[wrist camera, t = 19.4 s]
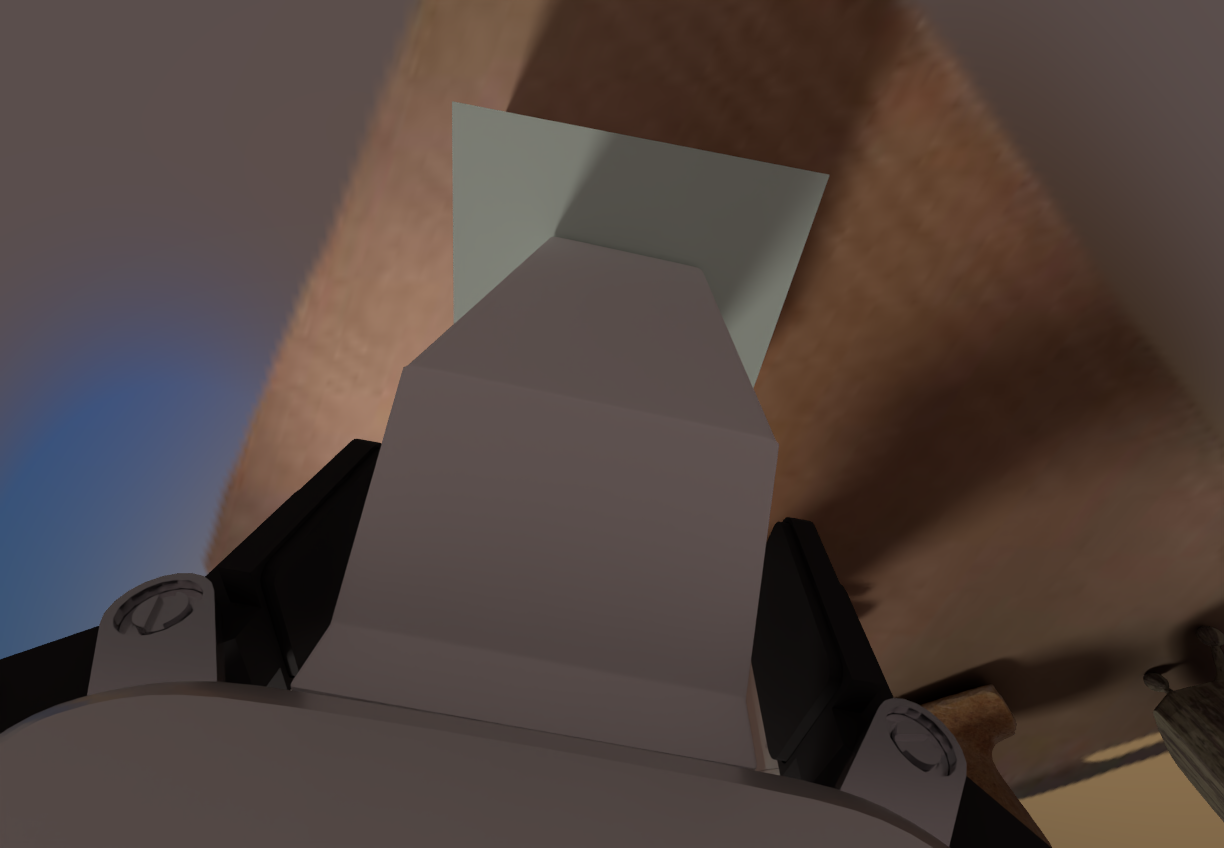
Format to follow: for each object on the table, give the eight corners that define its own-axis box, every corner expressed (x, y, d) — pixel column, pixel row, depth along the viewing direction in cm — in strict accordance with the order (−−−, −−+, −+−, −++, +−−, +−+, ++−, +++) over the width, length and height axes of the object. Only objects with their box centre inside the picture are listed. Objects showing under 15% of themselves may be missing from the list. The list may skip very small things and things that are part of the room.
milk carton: (551, 234, 21) (237, 509, 5) (702, 267, 22) (864, 628, 5) (534, 373, 25) (319, 795, 9) (664, 400, 25) (692, 859, 9)
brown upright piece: (895, 759, 56) (968, 941, 44) (842, 716, 53) (904, 901, 40) (1030, 717, 50) (1161, 914, 38) (980, 665, 47) (1106, 864, 34)
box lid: (825, 174, 20) (829, 174, 20) (720, 469, 28) (722, 475, 28) (457, 102, 20) (452, 101, 19) (458, 422, 28) (454, 427, 27)
